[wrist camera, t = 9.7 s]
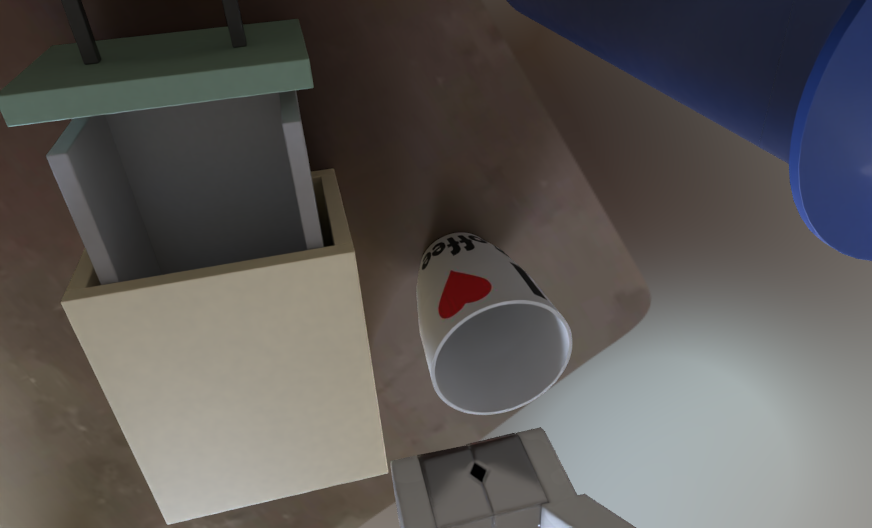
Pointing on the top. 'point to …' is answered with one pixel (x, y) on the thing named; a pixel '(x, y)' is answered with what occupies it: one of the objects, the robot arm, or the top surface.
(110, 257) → the green drawer
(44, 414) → the top surface
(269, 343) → the drawer box
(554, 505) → the robot arm
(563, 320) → the cup
